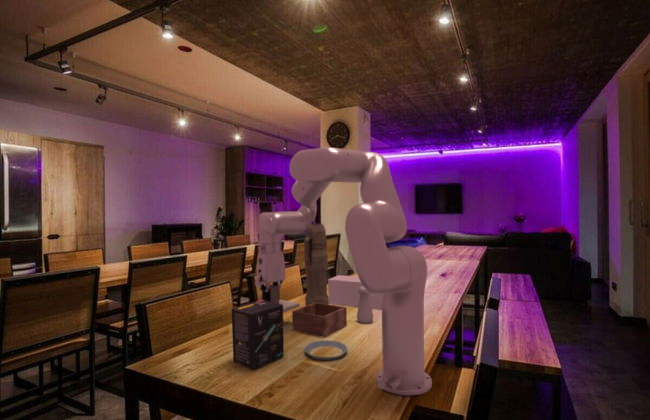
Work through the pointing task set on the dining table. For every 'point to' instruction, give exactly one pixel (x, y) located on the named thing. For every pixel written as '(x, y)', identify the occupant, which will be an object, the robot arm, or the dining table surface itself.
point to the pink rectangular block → (350, 292)
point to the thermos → (316, 264)
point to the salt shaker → (364, 307)
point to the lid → (275, 299)
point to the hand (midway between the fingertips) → (271, 300)
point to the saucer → (322, 344)
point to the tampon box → (257, 333)
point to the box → (319, 319)
